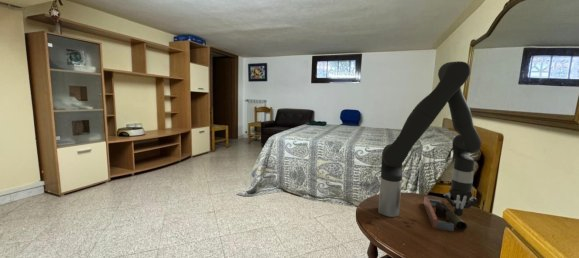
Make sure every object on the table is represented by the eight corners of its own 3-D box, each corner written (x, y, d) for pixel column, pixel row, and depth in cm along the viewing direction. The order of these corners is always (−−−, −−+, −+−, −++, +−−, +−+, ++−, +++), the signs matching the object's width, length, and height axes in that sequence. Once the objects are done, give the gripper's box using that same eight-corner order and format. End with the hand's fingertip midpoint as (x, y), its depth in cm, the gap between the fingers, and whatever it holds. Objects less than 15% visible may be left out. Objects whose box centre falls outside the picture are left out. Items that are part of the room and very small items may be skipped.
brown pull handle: (432, 227, 101) (433, 219, 101) (423, 203, 123) (424, 196, 123) (453, 231, 99) (454, 222, 98) (440, 206, 121) (441, 198, 120)
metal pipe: (466, 231, 99) (468, 219, 98) (450, 230, 100) (451, 218, 99) (443, 210, 117) (444, 199, 116) (429, 209, 117) (430, 199, 116)
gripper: (446, 180, 104) (442, 216, 107) (483, 184, 99) (478, 222, 102) (442, 174, 111) (439, 209, 114) (477, 178, 106) (472, 214, 109)
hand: (457, 215), depth 108 cm, fingers closed
